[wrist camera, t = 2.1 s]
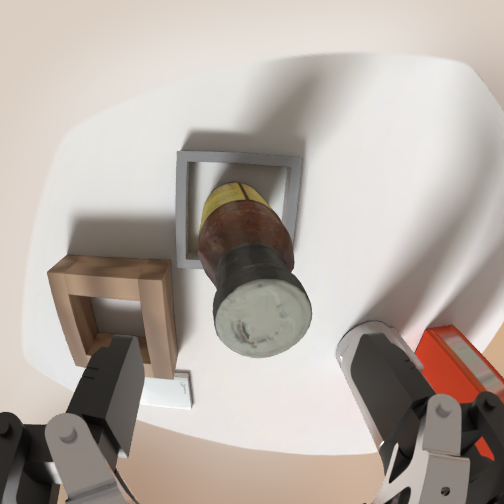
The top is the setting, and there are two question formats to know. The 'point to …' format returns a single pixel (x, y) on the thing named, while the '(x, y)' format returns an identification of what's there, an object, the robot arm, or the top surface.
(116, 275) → the holder
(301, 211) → the top surface
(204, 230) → the sauce bottle
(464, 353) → the file binder
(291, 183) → the square frame
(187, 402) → the hard drive
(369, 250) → the top surface
